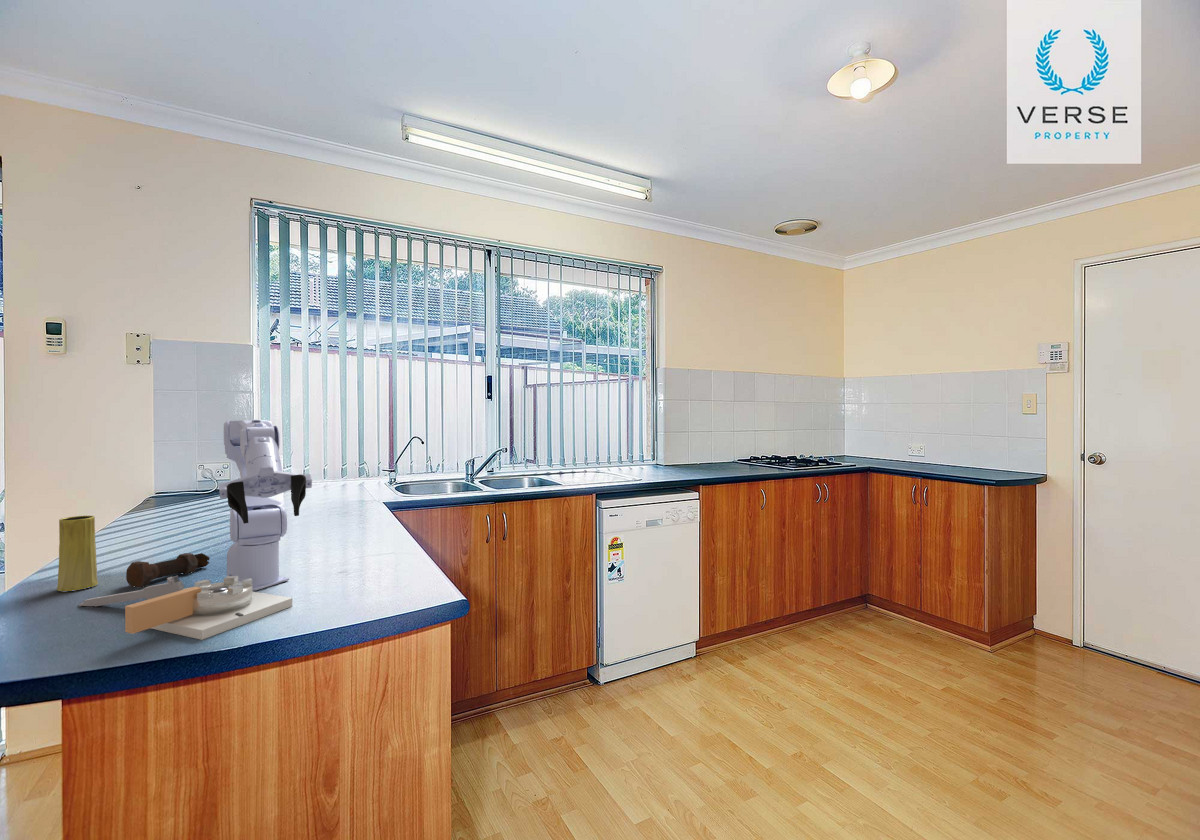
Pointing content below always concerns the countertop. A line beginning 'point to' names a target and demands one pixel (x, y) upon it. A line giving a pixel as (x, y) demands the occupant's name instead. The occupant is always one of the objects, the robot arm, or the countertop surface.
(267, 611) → the cap plate
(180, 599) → the ring clamp with plank
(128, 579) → the bolt
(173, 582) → the caliper
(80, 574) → the vase
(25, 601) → the countertop surface
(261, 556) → the robot arm
